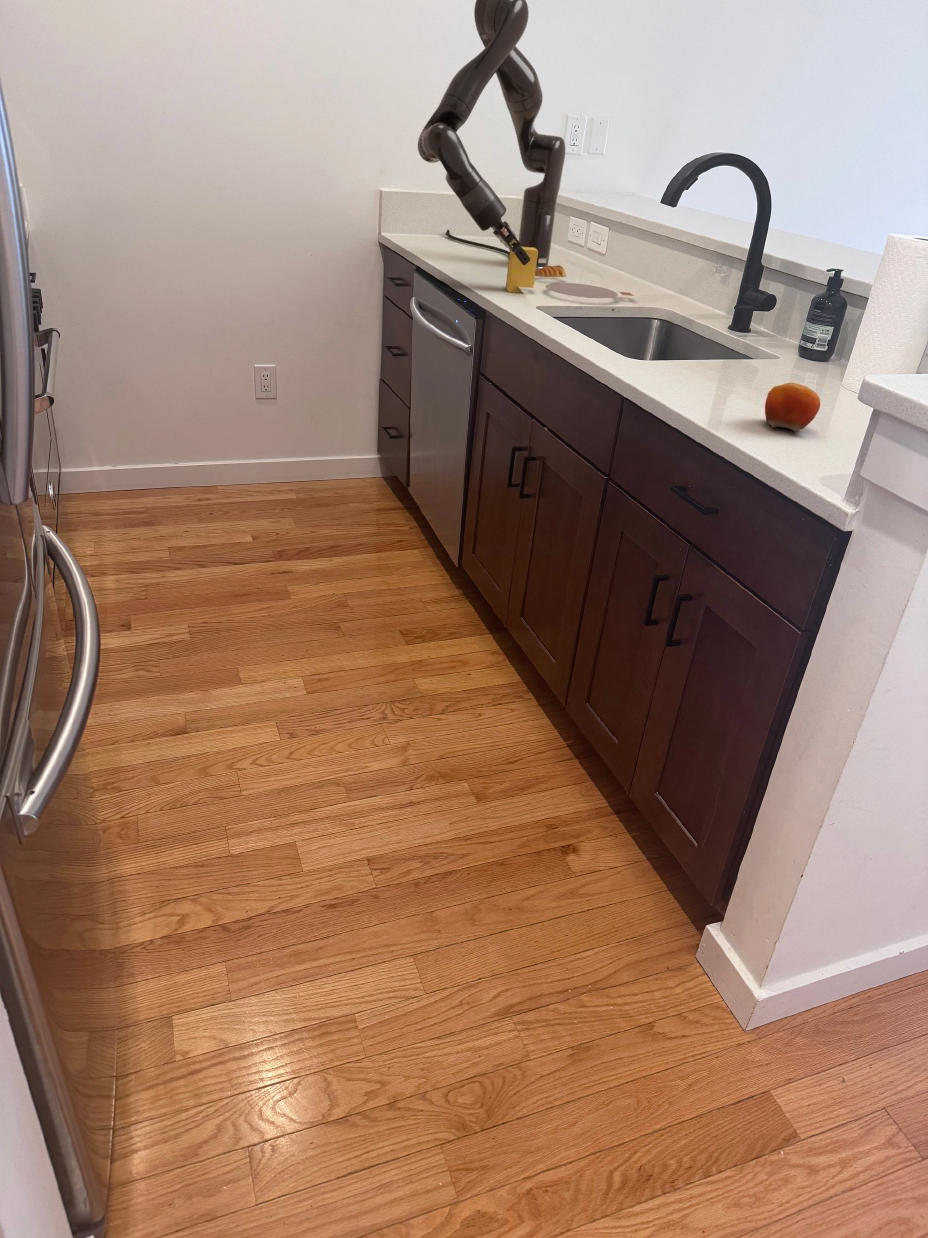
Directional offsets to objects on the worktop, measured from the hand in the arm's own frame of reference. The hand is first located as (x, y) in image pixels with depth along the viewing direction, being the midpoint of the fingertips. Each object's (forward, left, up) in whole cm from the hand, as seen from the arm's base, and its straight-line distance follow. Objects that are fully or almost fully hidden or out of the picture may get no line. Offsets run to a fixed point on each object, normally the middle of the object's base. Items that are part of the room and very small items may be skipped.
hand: (523, 259), depth 213 cm
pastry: (-18, +11, -8) cm, 23 cm away
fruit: (+98, +24, -8) cm, 101 cm away
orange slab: (+1, +27, -7) cm, 28 cm away
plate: (+1, +15, -7) cm, 17 cm away
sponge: (0, 0, -7) cm, 7 cm away
